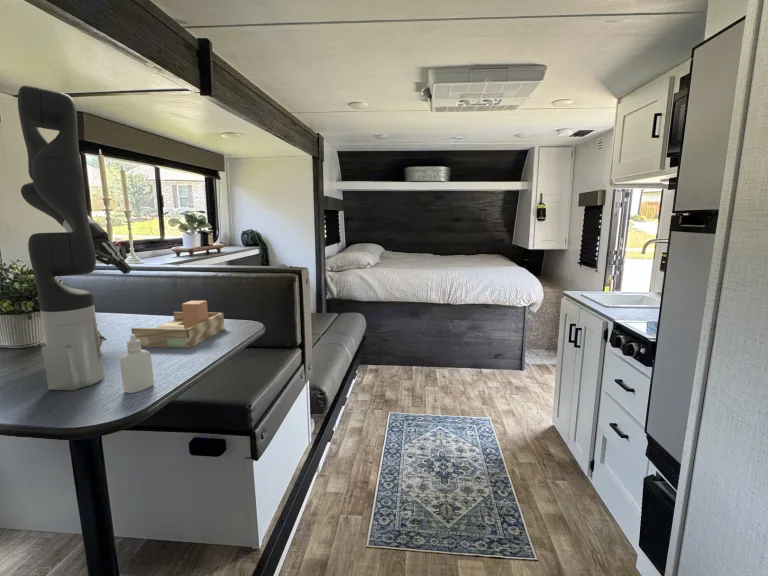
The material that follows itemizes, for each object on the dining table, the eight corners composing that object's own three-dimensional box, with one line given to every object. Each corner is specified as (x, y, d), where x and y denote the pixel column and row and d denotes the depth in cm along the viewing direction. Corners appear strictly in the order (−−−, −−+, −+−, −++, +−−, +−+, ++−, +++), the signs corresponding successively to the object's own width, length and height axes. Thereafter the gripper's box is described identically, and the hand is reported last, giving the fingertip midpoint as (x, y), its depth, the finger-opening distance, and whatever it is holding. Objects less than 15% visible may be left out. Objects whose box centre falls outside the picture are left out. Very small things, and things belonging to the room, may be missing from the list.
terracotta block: (200, 330, 119) (197, 304, 118) (184, 330, 120) (181, 304, 119) (209, 325, 124) (206, 300, 123) (193, 325, 125) (191, 300, 123)
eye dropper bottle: (124, 387, 87) (117, 334, 85) (154, 382, 90) (147, 330, 87) (123, 395, 83) (116, 339, 81) (154, 389, 86) (148, 335, 84)
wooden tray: (189, 348, 112) (187, 329, 111) (133, 347, 114) (131, 328, 113) (224, 329, 132) (223, 312, 131) (176, 327, 134) (174, 311, 133)
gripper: (73, 222, 113) (119, 265, 114) (110, 221, 126) (150, 260, 127) (59, 241, 114) (104, 283, 115) (96, 238, 127) (137, 277, 128)
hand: (128, 271), depth 121 cm, fingers closed
